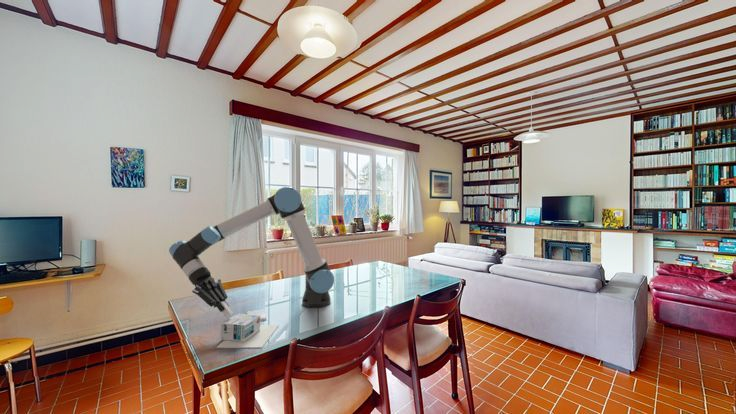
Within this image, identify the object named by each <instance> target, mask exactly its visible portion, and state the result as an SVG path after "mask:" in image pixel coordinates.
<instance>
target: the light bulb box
mask: <svg viewBox="0 0 736 414" xmlns="http://www.w3.org/2000/svg"><path fill="white" fill-rule="evenodd" d="M260 325H261V321H260V316H258V315H248V314H247V313H239V312H238V313H236V314H235V315H233V316H230V317H229V318H226V319H225V320H224V321H222V322H221V323H220V340H222V341H224V340H231V341H239V342H245V341H247V340H248V339H249V338H250V337H252V336H253V335H254V334H256V333H257V332H259V331H260Z"/></svg>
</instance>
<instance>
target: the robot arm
mask: <svg viewBox="0 0 736 414" xmlns="http://www.w3.org/2000/svg"><path fill="white" fill-rule="evenodd" d="M305 211H306V209H305V207H304V204H303V201H302V196H301V194H300V192H299V191H298V190H297V189H296V188H294V187H292V186H283V187H281V188H279V189H278V190H277V191H276V192H275V193H274V194H273V195H271V196H269V197H267V199H266V201H264V202H262V203H260V204H258V205H256V206H253V207H251V208H249V209H246V210H245V211H243V212H241V213H239V214H236V215H234V216H232V217H231V218H229V219H226V220H224V221H222V222H220V223H218V224H217V225H214V226H212V225H211V226H210V225H209V226H207V227H205V228H203V229H202V230H200V232H198V233H197V234H195V236H193V237H192V238H191V239H189V240H188V241H186V240H178V241H177V242H175V243H173V244H171V246H170V247H169V248H168V252H169V254H170V255H171V257H172V259H173V260H174V261H175V263H176V264H177V265H178V266H179V268H180V269H181V271H182V272H183V273H184V275H186V277H187V278H188V280H189V281H190V283H191V284H192V285H193V286H194V289H193V290H192V291H191V292H192V293H193V294H195V295H197V296H198V297H199V298H200V299H202V300H203V302H205V303H206V304H207V306H209V307H213V308H217V310H218V311H219V312H220V313H222V314H223V316H224V317H225V319H229V318H231V317H232V315H233V314H234V311H233V310H232V309H231V307H230V305H229V304H228V303H227V301H226V300H227V298H228V295H227V293H226V290H225V288H224V287H223V283H222V281H221V279H217V280H216V279H215V278H214V277H212V275H211V274H212V273H211V271H210V270H209V269H208V268H207V267H206V265H205V264H204V262H203V261H202V259H200V257H199V256H200V255H201V254H202V253H204V252H205V251H206V250H208V249H209V248H211V247H212V246H214V245H215V244H217V243H219V242H221V241H222V240H225V239H226V238H227V239H228V237H230V236H233V235H235V234H236V233H237V234H238V233H239V232H241V231H242V230H244V229H246V228H249V227H251V226H252V225H254V224H257V223H259V222H260V221H263V220H265V219H267V218H269V217H271V216H273V215H275V216H277V215H280V217H281V219H282V220H284V221H286V223H287V226H288V228H289V230H290V232H291V235H292V238H293V240H294V242H295V245H296V246H297V247H296V248H297V250H298V252H299V254H300V256H301V259H302V262H303V263H304V268H303V271H304V274H305V290H304V293H303V296H302V298H301V300H302V301H301V305H302V306H303V307H306V308H312V309H313V308H322V307H323V308H324V307H326V306H328V305H330V304H331V301H332V300H331V296H330V293H329V291H330V290H331V289H332V288H333V286H334V283H335V276H334V274H333V272H332V271H331V270H330V266H329V265H328V261H327V260H326V259H324V258H323V257H322V256H321V253H320V251H319V248H318V246H317V243H316V241H315V239H314V236H313V235H312V232H311V229H310V227H309V224H308V222H307V219H306V216H305V215H304V213H305Z"/></svg>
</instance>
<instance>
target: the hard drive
mask: <svg viewBox="0 0 736 414" xmlns="http://www.w3.org/2000/svg"><path fill="white" fill-rule="evenodd" d="M246 314H248V315H258V316H260V322H262V321H263V322H264V321H267V314H266V310H265V308H262V309H256V310H255V309H253V310H249V311H247V312H246Z"/></svg>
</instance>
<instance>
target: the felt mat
mask: <svg viewBox="0 0 736 414" xmlns="http://www.w3.org/2000/svg"><path fill="white" fill-rule="evenodd" d="M279 326H280V325H279V324H277V325H276V324H267V325H266V324H260V331H259V332H257V333H256V334H254V335H253V336H252V337H250V338H249V339H248V340H247V341H245V342H239V341H231V340H222V341H221V342H220V343H219V344H218V345H217V346H216V349H262V348H264V346H265V345H266V344H267V342H268V341H269V339H270V338H271V337H272V336H273V334H274V333H275V332H276V331H277V329H278V328H279Z"/></svg>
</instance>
